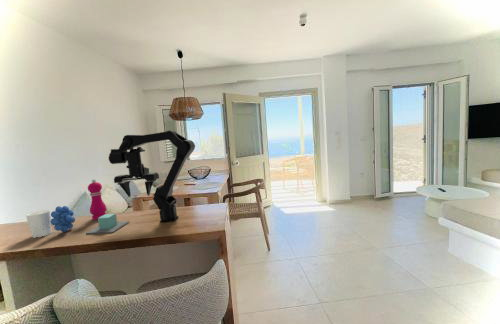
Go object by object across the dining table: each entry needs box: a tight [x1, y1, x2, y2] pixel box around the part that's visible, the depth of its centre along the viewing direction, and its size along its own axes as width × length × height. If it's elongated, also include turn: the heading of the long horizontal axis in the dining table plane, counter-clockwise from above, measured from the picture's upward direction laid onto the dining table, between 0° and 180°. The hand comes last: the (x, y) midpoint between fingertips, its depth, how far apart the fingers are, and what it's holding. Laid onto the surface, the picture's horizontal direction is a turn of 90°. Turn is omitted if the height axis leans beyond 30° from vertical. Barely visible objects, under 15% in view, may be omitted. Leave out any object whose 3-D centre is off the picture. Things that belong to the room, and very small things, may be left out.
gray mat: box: [85, 220, 130, 235], centre depth 110 cm, size 12×12×1 cm
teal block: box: [97, 213, 118, 229], centre depth 110 cm, size 5×5×5 cm
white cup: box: [26, 209, 53, 239], centre depth 108 cm, size 8×8×10 cm
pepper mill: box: [87, 179, 107, 221], centre depth 125 cm, size 7×7×20 cm
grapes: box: [50, 205, 76, 233], centre depth 109 cm, size 12×7×12 cm, turn 175°
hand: (139, 196), depth 115 cm, fingers open, 9 cm apart
